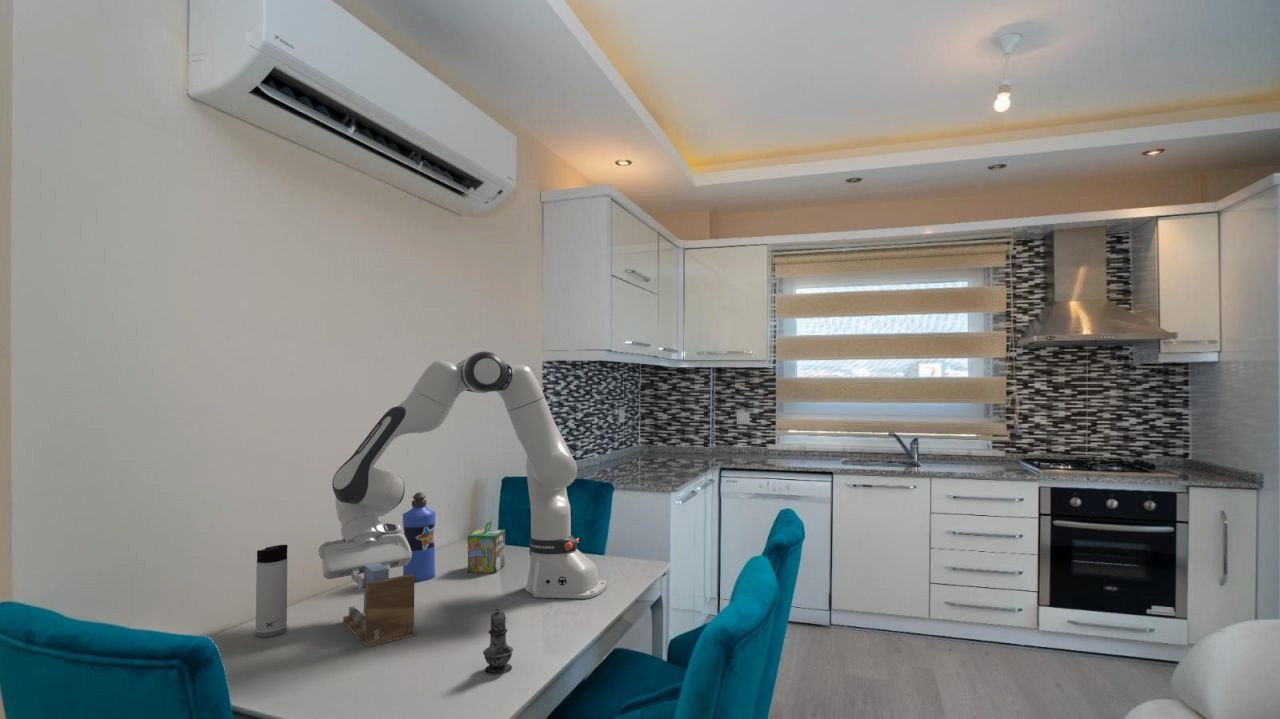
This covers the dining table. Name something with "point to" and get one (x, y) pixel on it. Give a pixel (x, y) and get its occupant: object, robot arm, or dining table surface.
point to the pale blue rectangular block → (374, 575)
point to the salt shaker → (498, 646)
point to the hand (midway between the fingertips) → (374, 585)
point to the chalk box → (486, 550)
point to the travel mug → (271, 591)
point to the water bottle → (420, 539)
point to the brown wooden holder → (385, 611)
